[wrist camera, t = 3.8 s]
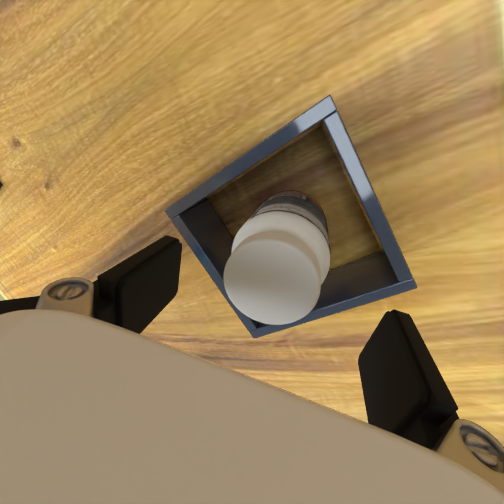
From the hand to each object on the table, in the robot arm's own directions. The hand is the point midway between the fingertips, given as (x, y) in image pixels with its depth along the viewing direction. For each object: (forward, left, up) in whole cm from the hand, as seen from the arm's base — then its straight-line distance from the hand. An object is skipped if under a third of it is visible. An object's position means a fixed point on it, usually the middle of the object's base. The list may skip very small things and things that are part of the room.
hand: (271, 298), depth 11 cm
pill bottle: (0, 0, -11) cm, 11 cm away
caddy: (0, 0, -11) cm, 11 cm away
